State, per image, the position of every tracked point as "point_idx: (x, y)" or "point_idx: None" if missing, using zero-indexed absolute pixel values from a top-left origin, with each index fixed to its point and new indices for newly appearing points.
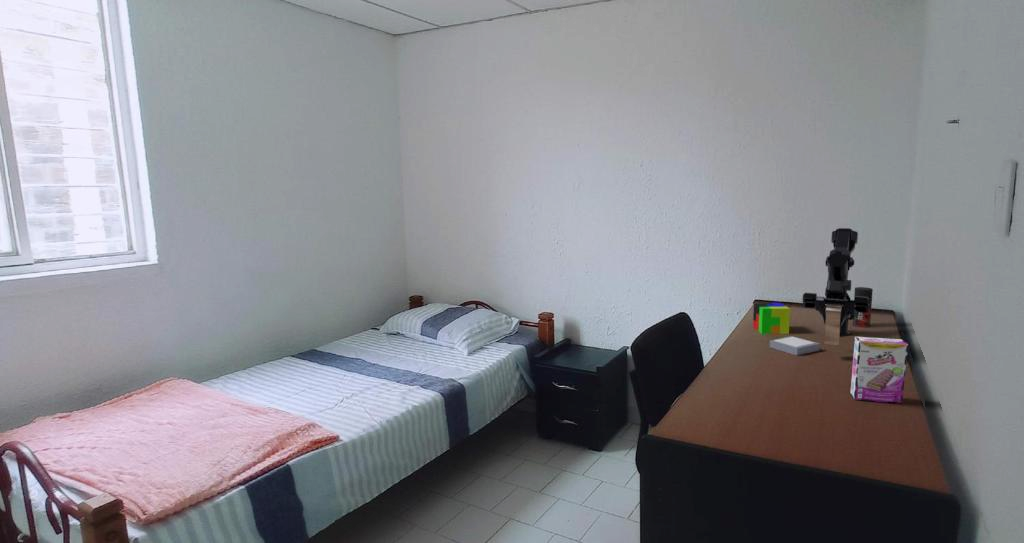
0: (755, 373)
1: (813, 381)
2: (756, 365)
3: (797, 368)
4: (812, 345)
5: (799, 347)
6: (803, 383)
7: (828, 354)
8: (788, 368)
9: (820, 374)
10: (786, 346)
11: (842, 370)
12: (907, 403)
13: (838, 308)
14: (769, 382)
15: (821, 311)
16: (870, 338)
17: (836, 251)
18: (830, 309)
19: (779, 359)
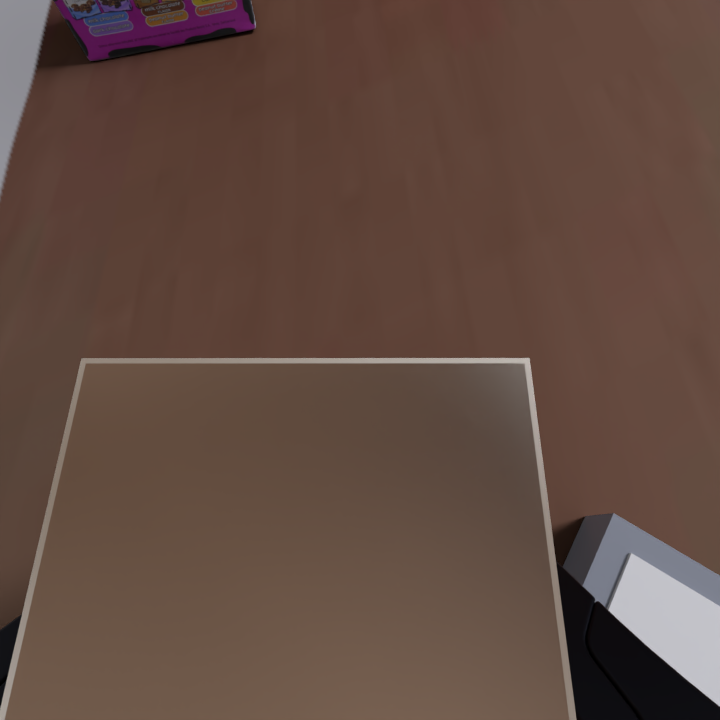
0: (662, 89)
1: (403, 98)
2: (714, 196)
3: (509, 240)
4: None
5: (606, 551)
6: (438, 61)
7: None
8: (551, 220)
9: (385, 198)
10: (716, 576)
11: (280, 312)
12: (67, 29)
13: (148, 399)
14: (565, 20)
15: (632, 636)
16: None
17: None
18: (389, 369)
19: (653, 363)
